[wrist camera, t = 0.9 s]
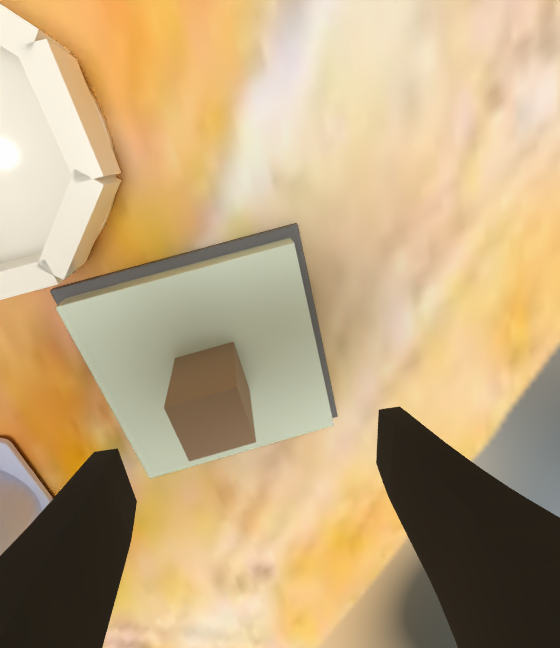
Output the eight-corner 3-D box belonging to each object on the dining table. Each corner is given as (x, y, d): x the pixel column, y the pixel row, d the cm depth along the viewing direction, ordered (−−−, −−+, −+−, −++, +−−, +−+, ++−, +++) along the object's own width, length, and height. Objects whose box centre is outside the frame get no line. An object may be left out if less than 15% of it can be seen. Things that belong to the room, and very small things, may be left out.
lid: (153, 462, 22) (135, 544, 18) (65, 297, 17) (9, 350, 13) (328, 412, 23) (356, 479, 18) (289, 237, 18) (314, 266, 13)
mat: (149, 466, 23) (148, 471, 22) (53, 288, 18) (49, 291, 17) (335, 412, 23) (337, 416, 23) (295, 223, 18) (297, 224, 18)
